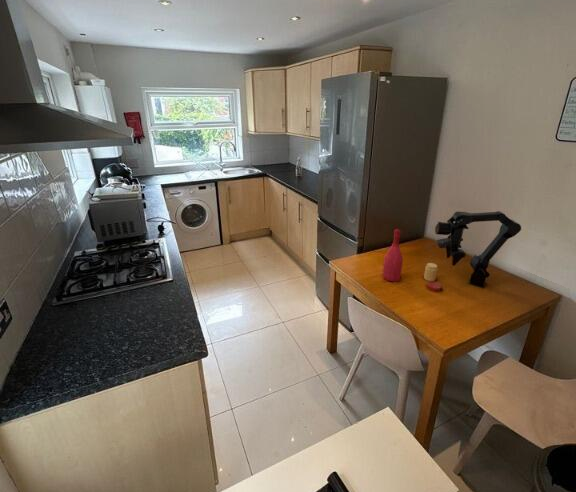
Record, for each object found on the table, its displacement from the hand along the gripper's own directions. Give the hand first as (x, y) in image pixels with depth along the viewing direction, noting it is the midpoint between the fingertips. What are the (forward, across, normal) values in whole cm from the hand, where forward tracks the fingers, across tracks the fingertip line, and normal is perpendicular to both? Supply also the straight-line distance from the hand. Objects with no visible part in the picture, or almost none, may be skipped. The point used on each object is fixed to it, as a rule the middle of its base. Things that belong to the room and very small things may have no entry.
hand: (450, 261), depth 166 cm
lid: (+10, +10, -9) cm, 17 cm away
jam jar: (+12, 0, -9) cm, 15 cm away
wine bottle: (+12, +3, -31) cm, 33 cm away
